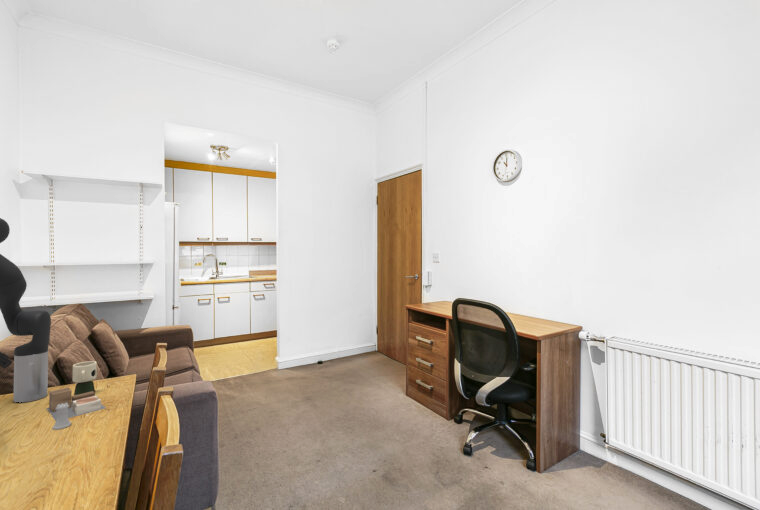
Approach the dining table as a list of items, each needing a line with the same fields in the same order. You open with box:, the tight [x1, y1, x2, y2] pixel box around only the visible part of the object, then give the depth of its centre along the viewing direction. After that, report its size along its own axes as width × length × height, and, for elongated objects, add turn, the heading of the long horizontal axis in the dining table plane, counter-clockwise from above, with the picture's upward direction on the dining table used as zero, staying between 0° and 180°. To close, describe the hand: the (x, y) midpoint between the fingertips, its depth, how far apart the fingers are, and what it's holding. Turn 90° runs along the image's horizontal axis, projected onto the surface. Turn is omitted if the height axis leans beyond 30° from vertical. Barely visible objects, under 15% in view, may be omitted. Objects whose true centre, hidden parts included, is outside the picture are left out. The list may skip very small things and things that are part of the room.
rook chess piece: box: [52, 403, 72, 430], centre depth 109 cm, size 4×4×8 cm
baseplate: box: [46, 401, 107, 422], centre depth 122 cm, size 16×13×1 cm
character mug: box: [72, 360, 98, 396], centre depth 135 cm, size 11×7×13 cm, turn 34°
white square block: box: [72, 395, 102, 416], centre depth 121 cm, size 6×6×3 cm
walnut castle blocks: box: [48, 386, 96, 412], centre depth 125 cm, size 5×12×6 cm, turn 141°
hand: (7, 362), depth 101 cm, fingers open, 8 cm apart
